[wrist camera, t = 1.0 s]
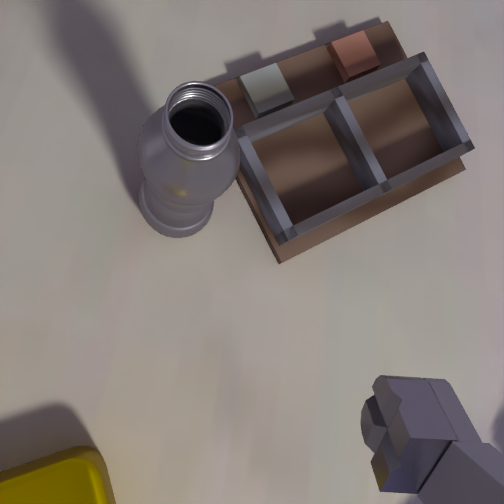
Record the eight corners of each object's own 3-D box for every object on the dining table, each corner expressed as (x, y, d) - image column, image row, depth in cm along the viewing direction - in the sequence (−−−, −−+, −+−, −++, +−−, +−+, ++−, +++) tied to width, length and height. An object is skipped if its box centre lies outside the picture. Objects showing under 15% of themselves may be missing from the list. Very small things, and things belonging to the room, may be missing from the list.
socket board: (194, 97, 46) (199, 76, 42) (383, 26, 52) (402, 2, 48) (278, 264, 45) (291, 258, 41) (459, 172, 51) (485, 159, 47)
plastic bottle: (196, 164, 45) (236, 42, 25) (219, 231, 44) (277, 159, 25) (129, 182, 43) (117, 66, 24) (152, 252, 43) (159, 191, 23)
